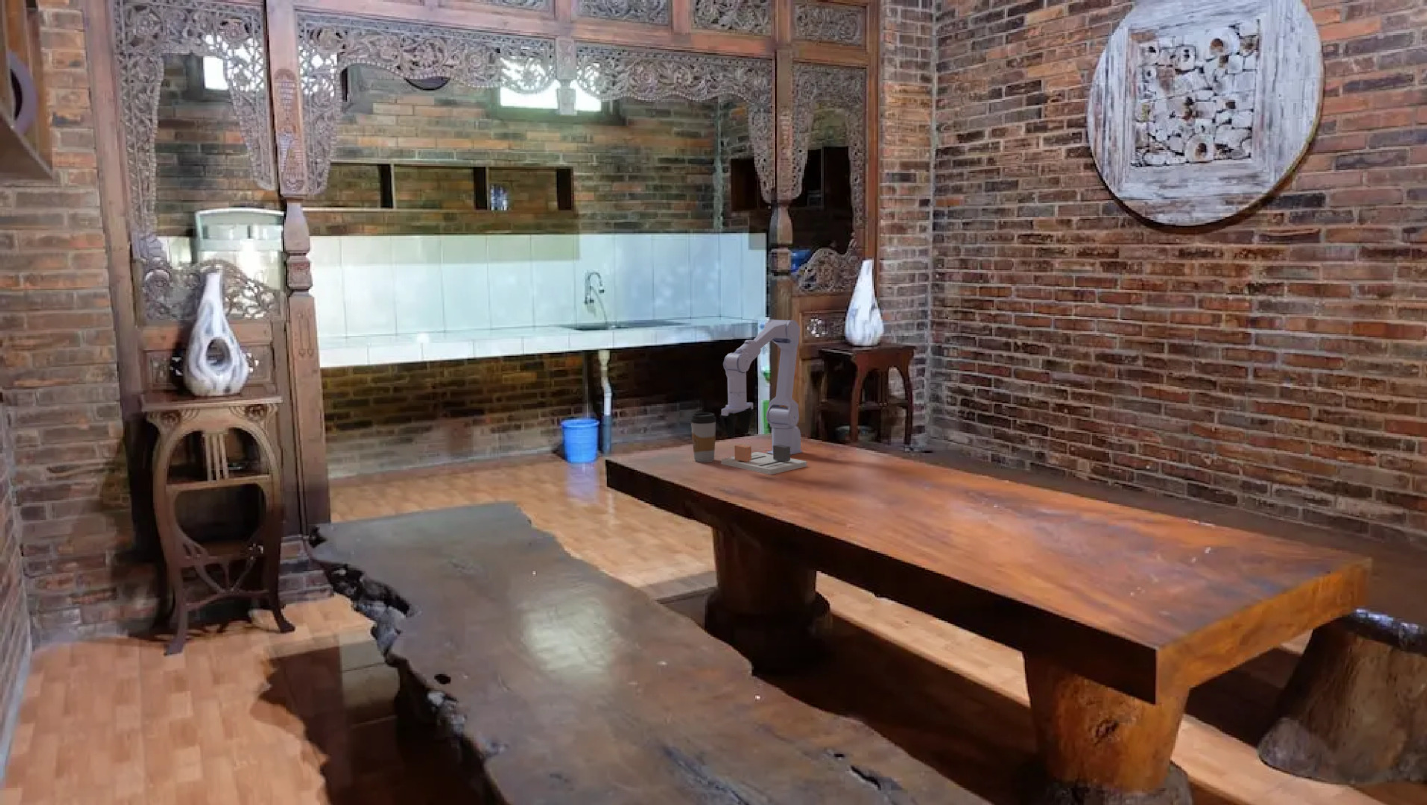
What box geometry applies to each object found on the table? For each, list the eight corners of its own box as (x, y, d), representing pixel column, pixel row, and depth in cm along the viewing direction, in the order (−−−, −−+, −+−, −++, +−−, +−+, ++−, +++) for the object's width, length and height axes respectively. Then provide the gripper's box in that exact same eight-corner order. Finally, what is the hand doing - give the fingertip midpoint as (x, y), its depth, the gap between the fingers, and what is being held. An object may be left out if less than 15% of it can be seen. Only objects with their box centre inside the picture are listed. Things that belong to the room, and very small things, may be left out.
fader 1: (740, 458, 312) (740, 444, 311) (751, 460, 308) (751, 446, 307) (734, 459, 310) (734, 445, 309) (745, 461, 306) (745, 447, 306)
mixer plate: (757, 456, 323) (757, 451, 323) (806, 466, 307) (806, 461, 307) (721, 464, 312) (720, 459, 312) (770, 474, 296) (770, 469, 296)
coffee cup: (687, 459, 320) (686, 413, 318) (710, 456, 324) (709, 411, 322) (697, 464, 313) (696, 417, 311) (721, 461, 316) (720, 415, 314)
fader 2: (778, 458, 310) (778, 444, 310) (790, 460, 307) (790, 446, 306) (773, 459, 309) (773, 445, 308) (784, 461, 305) (784, 447, 304)
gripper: (739, 388, 314) (740, 430, 316) (712, 394, 302) (713, 437, 304) (758, 389, 310) (759, 432, 312) (731, 395, 298) (732, 439, 300)
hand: (738, 435), depth 308 cm, fingers open, 7 cm apart
